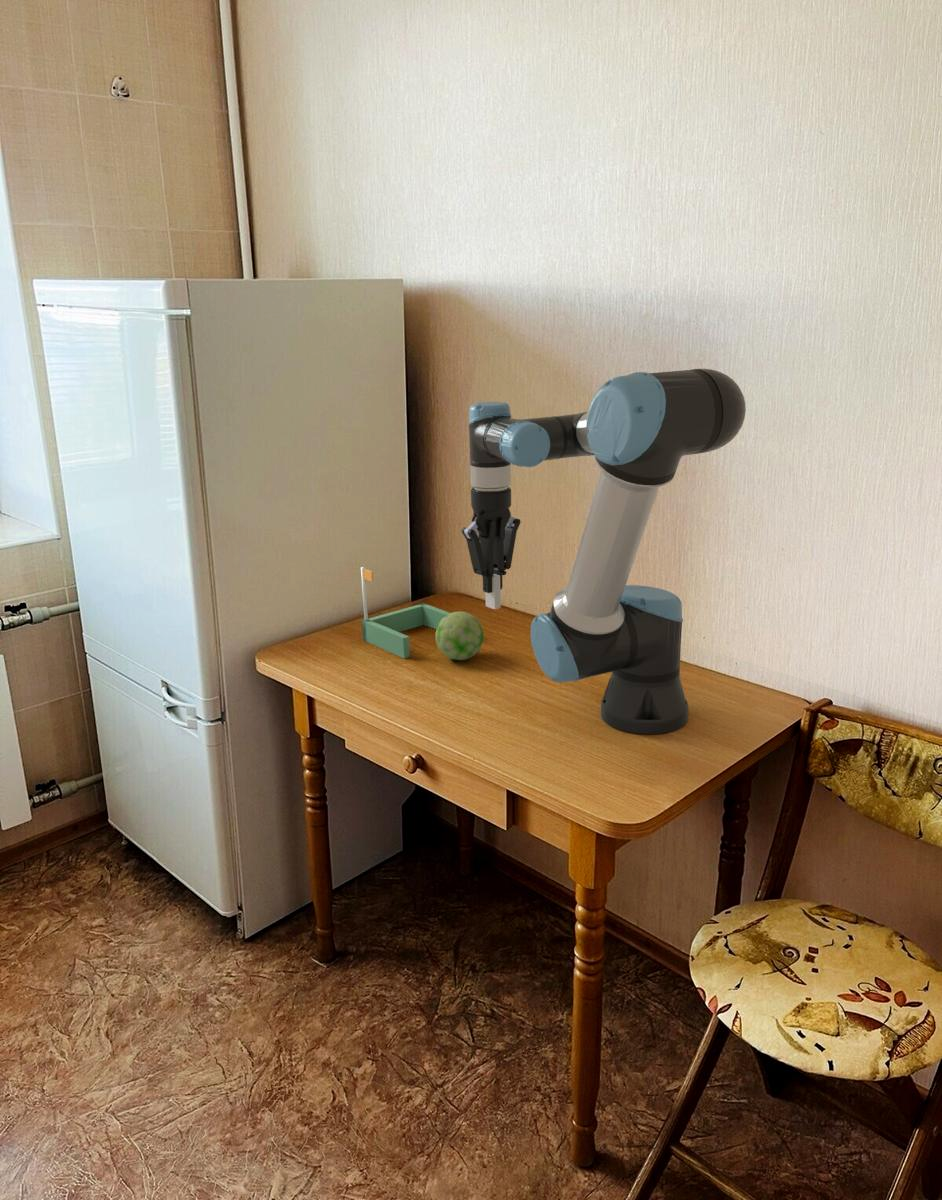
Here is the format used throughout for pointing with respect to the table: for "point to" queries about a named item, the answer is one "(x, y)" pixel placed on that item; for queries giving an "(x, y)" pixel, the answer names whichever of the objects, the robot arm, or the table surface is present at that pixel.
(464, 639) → the decorative ball
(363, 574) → the cup
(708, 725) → the table surface
